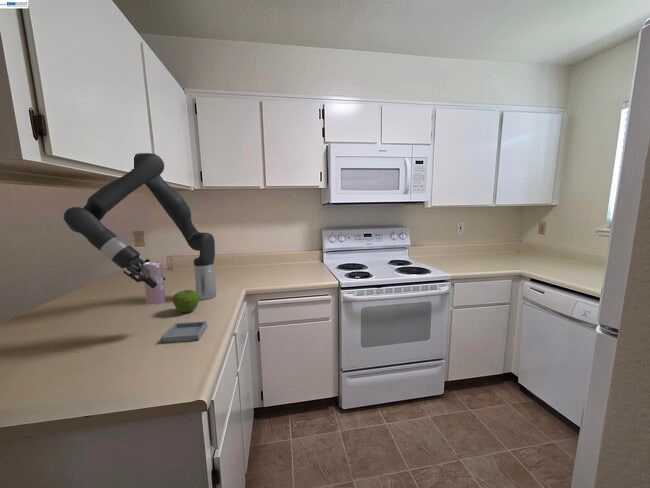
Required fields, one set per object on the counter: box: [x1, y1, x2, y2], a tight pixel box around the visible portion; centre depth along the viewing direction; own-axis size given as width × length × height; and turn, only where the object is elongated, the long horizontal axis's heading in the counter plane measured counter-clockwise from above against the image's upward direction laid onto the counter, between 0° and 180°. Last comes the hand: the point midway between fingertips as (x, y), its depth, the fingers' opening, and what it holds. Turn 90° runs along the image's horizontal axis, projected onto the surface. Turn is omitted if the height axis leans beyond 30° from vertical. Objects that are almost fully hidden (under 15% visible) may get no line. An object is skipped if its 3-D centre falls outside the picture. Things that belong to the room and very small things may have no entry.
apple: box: [172, 289, 200, 313], centre depth 124 cm, size 11×10×10 cm
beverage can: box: [143, 261, 167, 306], centre depth 102 cm, size 6×6×15 cm
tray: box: [161, 320, 208, 344], centre depth 103 cm, size 12×12×2 cm
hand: (159, 283), depth 102 cm, fingers closed on beverage can, 6 cm apart
